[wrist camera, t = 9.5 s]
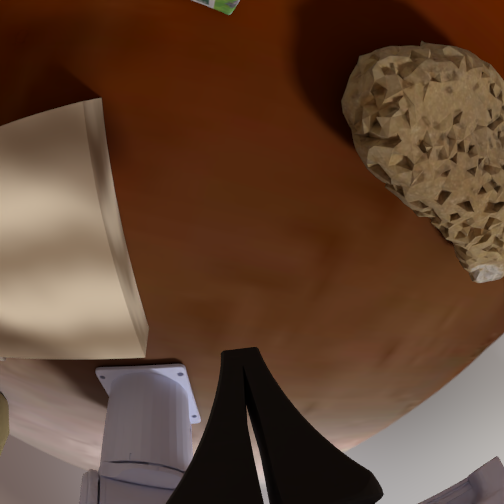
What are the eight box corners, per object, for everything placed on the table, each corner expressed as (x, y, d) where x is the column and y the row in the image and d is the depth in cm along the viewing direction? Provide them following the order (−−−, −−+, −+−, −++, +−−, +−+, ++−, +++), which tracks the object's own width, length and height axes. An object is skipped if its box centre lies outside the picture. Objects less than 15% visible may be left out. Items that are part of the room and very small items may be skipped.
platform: (148, 327, 22) (145, 357, 20) (12, 332, 21) (0, 357, 18) (101, 97, 14) (82, 101, 12) (-55, 150, 13) (-80, 163, 10)
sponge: (509, 187, 23) (465, -14, 10) (557, 245, 18) (566, 17, 5) (408, 256, 28) (299, 75, 15) (444, 325, 22) (360, 137, 10)
